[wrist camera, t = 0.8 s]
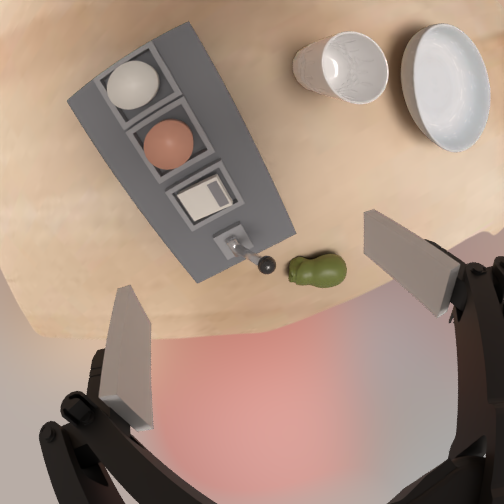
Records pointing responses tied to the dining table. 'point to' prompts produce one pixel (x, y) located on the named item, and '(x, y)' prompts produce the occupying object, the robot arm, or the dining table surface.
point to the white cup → (343, 67)
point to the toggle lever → (251, 256)
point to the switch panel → (200, 162)
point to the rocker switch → (205, 197)
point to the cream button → (133, 85)
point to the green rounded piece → (318, 271)
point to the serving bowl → (446, 86)
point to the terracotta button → (168, 144)
